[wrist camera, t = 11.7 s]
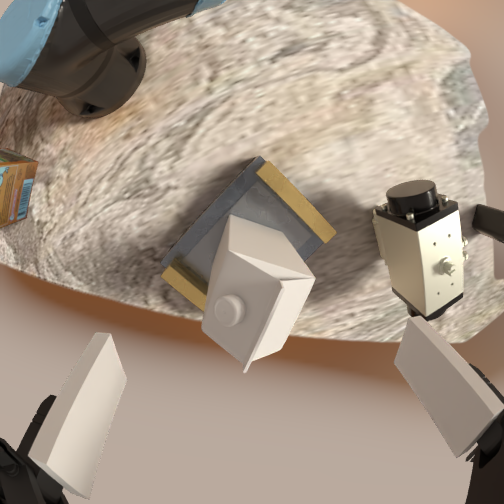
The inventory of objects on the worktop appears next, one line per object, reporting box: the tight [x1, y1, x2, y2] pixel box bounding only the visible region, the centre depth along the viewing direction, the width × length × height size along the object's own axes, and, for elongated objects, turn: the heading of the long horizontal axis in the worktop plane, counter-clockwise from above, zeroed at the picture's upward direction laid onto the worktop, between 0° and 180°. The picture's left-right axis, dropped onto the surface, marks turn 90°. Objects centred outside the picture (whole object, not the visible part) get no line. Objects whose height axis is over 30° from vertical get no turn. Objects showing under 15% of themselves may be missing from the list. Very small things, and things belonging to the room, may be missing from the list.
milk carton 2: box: [202, 214, 316, 373], centre depth 26 cm, size 7×7×19 cm
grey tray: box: [160, 156, 337, 312], centre depth 37 cm, size 18×19×8 cm
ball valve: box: [372, 180, 468, 321], centre depth 33 cm, size 18×8×18 cm, turn 23°
